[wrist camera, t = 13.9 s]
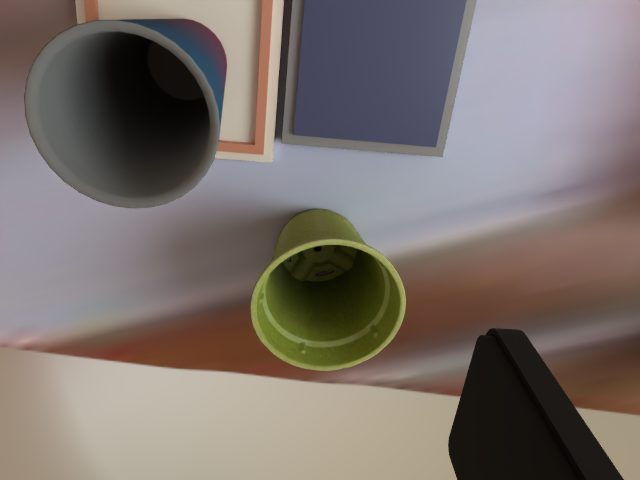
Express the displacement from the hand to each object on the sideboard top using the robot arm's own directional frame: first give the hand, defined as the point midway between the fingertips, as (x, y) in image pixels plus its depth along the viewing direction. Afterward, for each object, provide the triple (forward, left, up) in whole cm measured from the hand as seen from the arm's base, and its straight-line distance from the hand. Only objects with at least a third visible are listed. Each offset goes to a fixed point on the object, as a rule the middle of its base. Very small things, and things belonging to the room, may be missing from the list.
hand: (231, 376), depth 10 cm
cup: (+5, -2, -27) cm, 27 cm away
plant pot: (-5, +11, -27) cm, 30 cm away
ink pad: (-7, -3, -27) cm, 28 cm away
